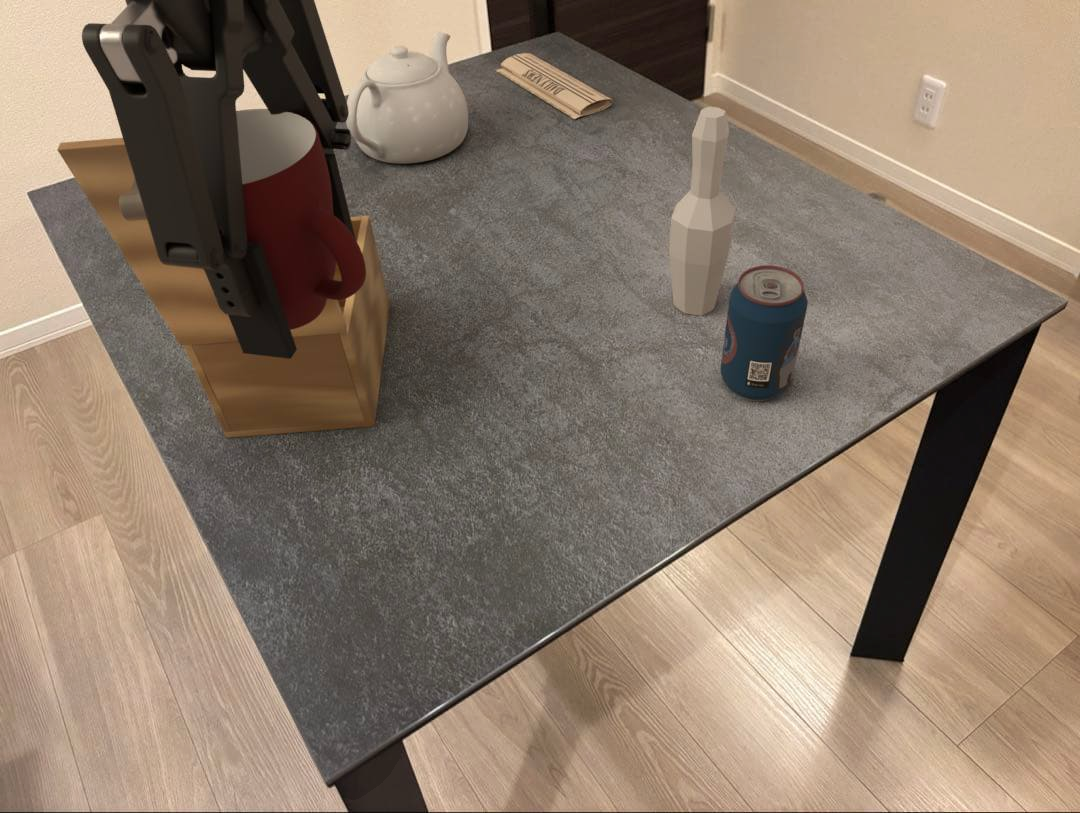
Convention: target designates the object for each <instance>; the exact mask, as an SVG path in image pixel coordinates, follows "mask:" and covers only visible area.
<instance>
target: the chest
mask: <svg viewBox="0 0 1080 813" xmlns="http://www.w3.org/2000/svg"><path fill="white" fill-rule="evenodd" d="M350 218H351V222H352V226H353V230H354V234H355V239H356V241H357V243H358V245H359V247H360V249H361V252H362V254H363V258H364V261H365V268H366V278H365V281H364V283H363V285H362V287H361V288H360V289H359V290H358V291H357V292H356V293H355V294H353V295H352V296H350V297H348V298H345V299H342V300H338V303H339V305H340V308H341V311H342V314H343V316H344V319H345V322H346V325H347V331H346V333H334V334H322V335H309V336H296V337H293V339H294V342H295V345H296V348H297V350H296V352H295V353H294V355H293V356H292V358H291V359H288V358H279V357H271V356H262V355H254V354H245V353H243V351H242V349H241V346H240V344H239V341H234V342H221V343H208V344H196V345H183V349H184V350H185V353H186V355H187V357H188V359H189V361H190V363H191V365H192V368H193V370H194V371H195V374H196V376H197V379H198V380H199V382H200V384H201V386H202V389H203V391H204V394H205V395H206V398H207V399H208V401H209V403H210V406H211V407H212V409H213V412H214V415H215V416H216V418H217V420H218V423H219V425H220V427H221V428H222V431H223V433H224V435H225V438H226V439H232V438H233V439H234V438H245V437H246V438H247V437H256V436H257V437H258V436H269V435H270V436H271V435H283V434H295V433H308V432H319V431H321V432H322V431H333V430H345V429H346V430H347V429H357V428H358V429H359V428H370V427H371V428H373V427H375V426H376V420H377V418H376V417H377V411H378V403H379V396H380V395H379V394H380V387H381V380H382V379H381V378H382V372H383V371H382V370H383V365H384V364H383V363H384V357H385V356H384V355H385V348H386V340H387V334H388V325H389V317H390V309H391V302H390V299H389V298H390V297H389V295H388V289H387V286H386V282H385V277H384V273H383V268H382V265H381V260H380V255H379V251H378V246H377V242H376V238H375V235H374V230H373V226H372V221H371V217H370V215H369V214H368V215H358V216H350ZM333 280H336V281H342V279H341V274H340V270H339V267H338V265H337V262H336V269H335V275H334V279H333Z"/></svg>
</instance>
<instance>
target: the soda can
mask: <svg viewBox="0 0 1080 813" xmlns="http://www.w3.org/2000/svg"><path fill="white" fill-rule="evenodd" d="M728 298H729V299H728V306H727V307H728V308H727V314H726V315H727V316H726V322H725V329H724V330H725V331H724V336H723V348H722V354H721V360H720V375H721V378H722V380H723V382H724V383H725V385H726V386H727V388H728V389H729V390H730V391H731V392H732V393H733V394H734V395H735V396H737V397H739V398H741V399H743V400H746V401H751V402H765V401H766V402H767V401H769V400H772V399H774V398H776V397H778V396H779V395H780V394H782V393H783V392H785V390H787V389H788V387H789V386H790V385H791V383H792V381H793V378H794V373H795V369H796V368H795V367H796V363H797V358H798V353H799V348H800V344H801V339H802V334H803V330H804V324H805V319H806V315H807V309H808V304H809V302H808V297H807V294H806V292H805V284H804V282H803V280H802V277H800V275H798V274H797V273H796V272H794V271H792V270H791V269H788V268H785V267H782V266H778V265H757V266H754V267H751V268H748V269H746V270H745V271H743V272H742V273H741V274H740V276H739V277H738V282H737V283H736V284H735V285H734V286H733V287H732V289H731V290H730V292H729V297H728Z"/></svg>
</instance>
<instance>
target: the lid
mask: <svg viewBox="0 0 1080 813" xmlns="http://www.w3.org/2000/svg"><path fill="white" fill-rule="evenodd" d="M57 152H58V154H59V155H60V157H61V158H62V160H63V161H64V163H65V164H66V166H67V168H68V169H69V171H70V173H71V174H72V176H73V178H74V179H75V180H76V182H77V183H78V185H79V187H80V188H81V190H82V192H83V193H84V195H85V196H86V198H87V199H88V202H89V203H90V204H91V207H92V208H93V209H94V211H95V212H96V214H97V216H98V217H99V219H100V220H101V222H102V223H103V225H104V227H105V228H106V230H107V231H108V233H109V235H110V236H111V237H112V239H113V241H114V242H115V244H116V246H117V247H118V249H119V251H120V252H121V254H122V255H123V257H124V258H125V260H126V261H127V263H128V265H129V266H130V269H132V271H133V272H134V274H135V276H136V278H137V279H138V281H139V282H140V284H141V285H142V287H143V289H144V290H145V292H146V293H147V295H148V297H149V299H151V301H152V303H153V305H154V306H155V308H156V309H157V311H158V312H159V314H160V316H161V317H162V319H163V320H164V322H165V323H166V325H167V327H168V328H169V330H170V331H171V333H172V334H173V336H174V338H175V340H176V341H177V342H178V344H179V345H180V347H182V346H183V347H184V345H196V344H208V343H221V342H234V341H238V339H237V336H236V334H235V331H234V329H233V326H232V324H231V321H230V319H229V316H228V314H225V313H224V312H223V311H222V310H221V309H220V308H219V305H218V303H217V300H216V299H217V298H215V295H214V293H213V292H214V291H213V290H212V288H211V285H210V283H209V280H208V278H207V275H206V273H205V271H204V269H201V268H190V267H180V266H170V265H164V264H163V263H162V262H161V261H160V259H159V257H158V254H157V250H156V247H155V244H154V240H153V237H152V234H151V230H150V227H149V224H148V220H147V217H146V214H145V210H144V207H143V204H142V200H141V197H140V193H139V190H138V187H137V183H136V180H135V177H134V173H133V170H132V167H131V163H130V160H129V157H128V153H127V150H126V146H125V143H124V140H123V137H115V138H101V139H90V140H77V141H67V142H65V141H63V142H60V143H59V144H58V147H57ZM290 331H291V334H292V337H296V336H309V335H322V334H334V333H346V331H347V325H346V322H345V319H344V316H343V314H342V311H341V308H340V305H339V303H338V300H333V299H328V298H327V301H326V304H325V307H324V309H323V311H322V312H321V314H320V315H319V316H318V317H317V318H316V319H315V320H313V321H312V322H310V323H308V324H306V325H304V326H302V327H299V328H296V329H292V330H290Z"/></svg>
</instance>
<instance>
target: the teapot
mask: <svg viewBox="0 0 1080 813" xmlns="http://www.w3.org/2000/svg"><path fill="white" fill-rule="evenodd" d="M450 39H451V35H450V34H449V33H446V32H443V31H436V32H435V33H434V35H433V38H432V41H431V43H430V49H429V55H427V54H425V53H422V52H419V51H412V50H409V49H408V47H406V45H405V46H404V45H395V46H393V47H391V48H390V50H389V53H386V54H383V55H381V56H380V57H378V58H376V59H375V60H374V61H373V62H372V63H371V64H370V65H368V67H366V68H365V70H364V71H363V73H362V77H361V79H359V80H358V81H356V82H355V83H354V84H353V85H352V87H351V88H350V91H349V93H348V96H347V99H346V102H347V106H348V112H349V114H348V118H347V121H346V122H345V123H346V127H347V128H346V129H349V130H350V133H351V137H352V138H353V139H355V142H356V144H357V145H358V147H359V149H361V151H362V152H363V153H364V154H366V155H367V156H368V157H370V158H372V159H374V160H376V161H380V162H382V163H389V164H398V165H401V164H402V165H403V164H404V165H405V164H407V165H409V164H419V163H423V162H428V161H432V160H436V159H438V158H441V157H443V156H445V155H447V154H450V153H451V152H453V151H454V150H456V149H457V148H459V146H460V145H461V144H462V143H463V142H464V140H465V138H466V136H467V133H468V129H469V110H468V104H467V100H466V97H465V95H464V92H463V90H462V89H461V86H460V85H459V84H458V82H457V81H456V79H455V78H454V77H453V76H452V75H451V74H450V70H449V64H448V63H449V62H448V55H447V46H448V42H449V40H450Z"/></svg>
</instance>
